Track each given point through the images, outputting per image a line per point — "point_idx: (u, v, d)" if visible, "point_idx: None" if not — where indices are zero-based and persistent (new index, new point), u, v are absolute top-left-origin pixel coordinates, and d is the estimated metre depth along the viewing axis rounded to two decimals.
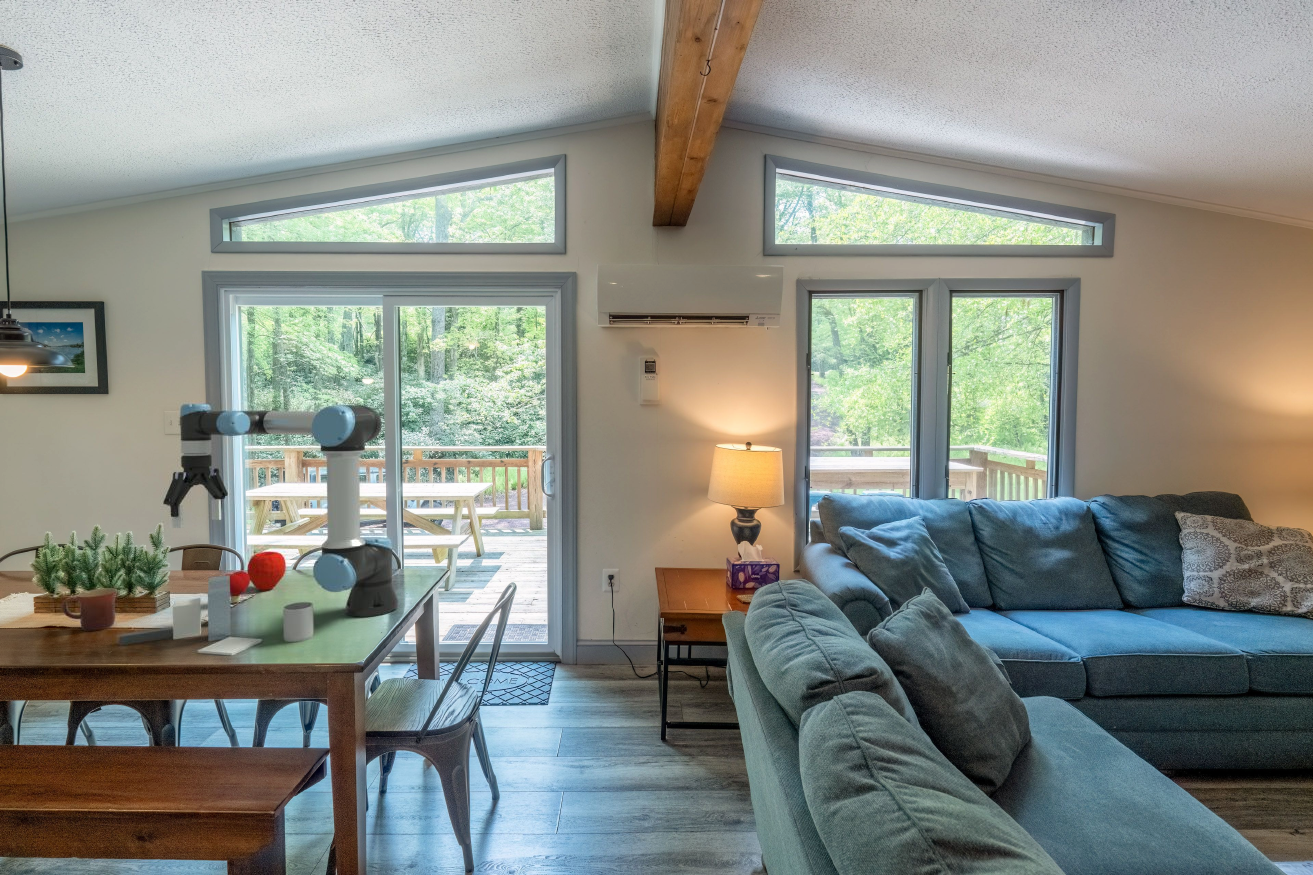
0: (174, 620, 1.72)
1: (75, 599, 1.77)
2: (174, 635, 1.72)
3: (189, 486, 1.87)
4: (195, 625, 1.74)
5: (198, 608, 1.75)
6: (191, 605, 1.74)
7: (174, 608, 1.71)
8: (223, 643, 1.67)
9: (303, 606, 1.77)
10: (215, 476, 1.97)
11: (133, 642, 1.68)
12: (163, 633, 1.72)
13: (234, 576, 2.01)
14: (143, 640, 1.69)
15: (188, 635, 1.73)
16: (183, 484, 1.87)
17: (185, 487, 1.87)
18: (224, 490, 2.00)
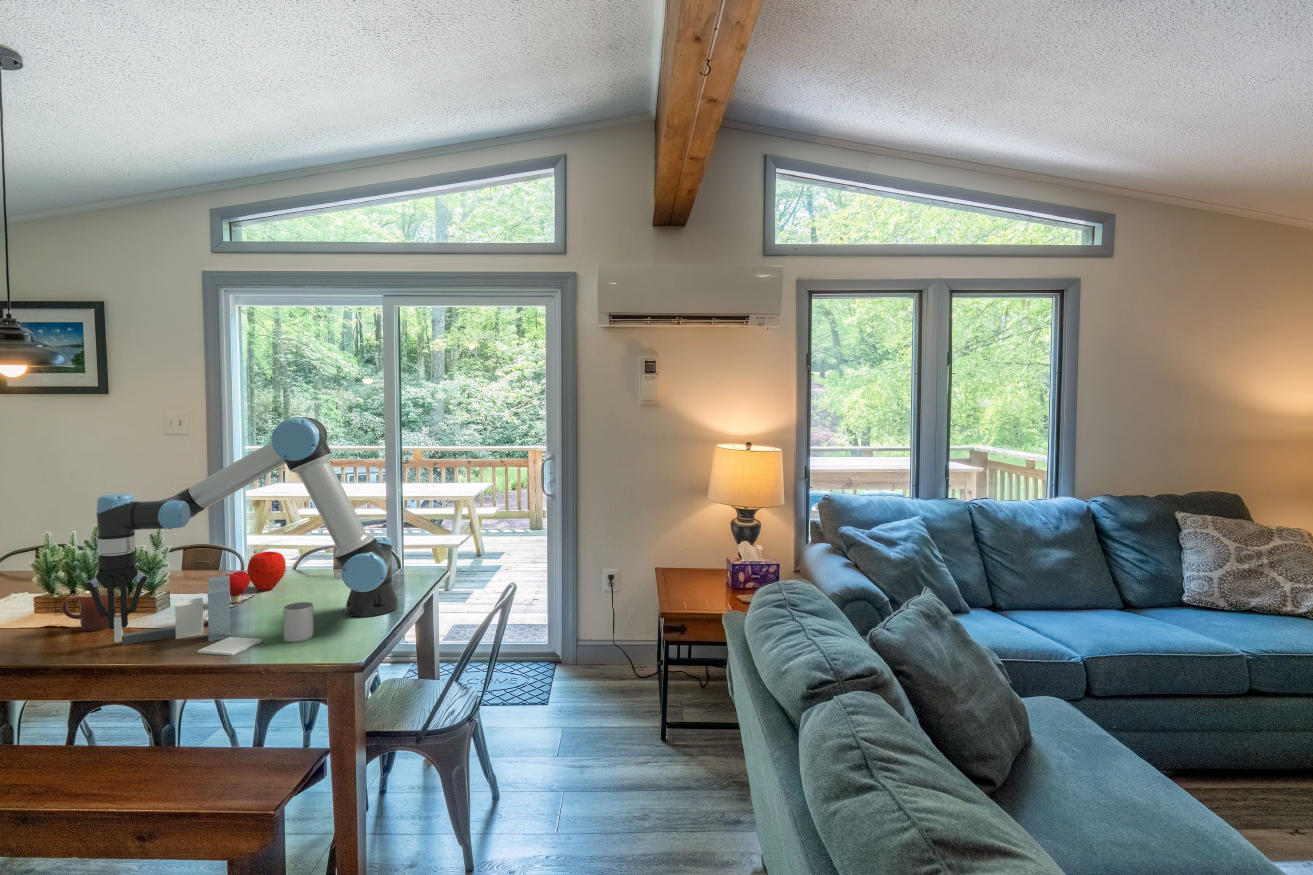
0: (176, 620, 1.72)
1: (75, 599, 1.77)
2: (176, 635, 1.72)
3: (110, 593, 1.65)
4: (198, 624, 1.75)
5: (200, 608, 1.75)
6: (193, 605, 1.74)
7: (176, 608, 1.72)
8: (223, 643, 1.67)
9: (303, 606, 1.77)
10: None
11: (135, 641, 1.68)
12: (166, 633, 1.72)
13: (234, 576, 2.01)
14: (146, 640, 1.70)
15: (190, 635, 1.74)
16: None
17: (108, 595, 1.65)
18: (133, 604, 1.68)
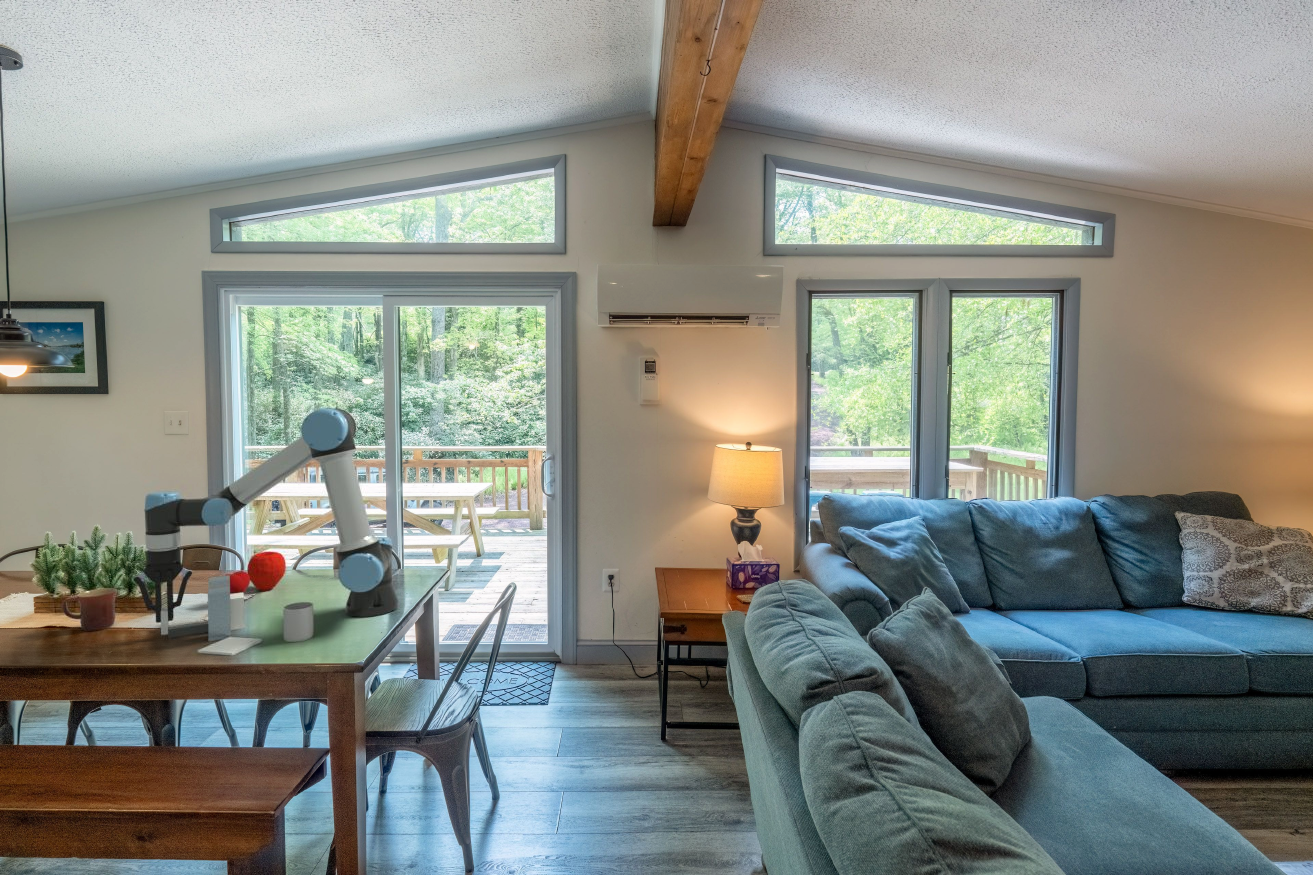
0: None
1: (75, 599, 1.77)
2: None
3: (157, 587, 1.70)
4: (240, 618, 1.80)
5: (242, 602, 1.80)
6: (236, 599, 1.79)
7: None
8: (223, 643, 1.67)
9: (303, 606, 1.77)
10: (183, 578, 1.74)
11: (180, 635, 1.74)
12: None
13: (234, 576, 2.01)
14: (190, 633, 1.75)
15: (233, 628, 1.79)
16: None
17: (155, 589, 1.71)
18: (179, 598, 1.73)
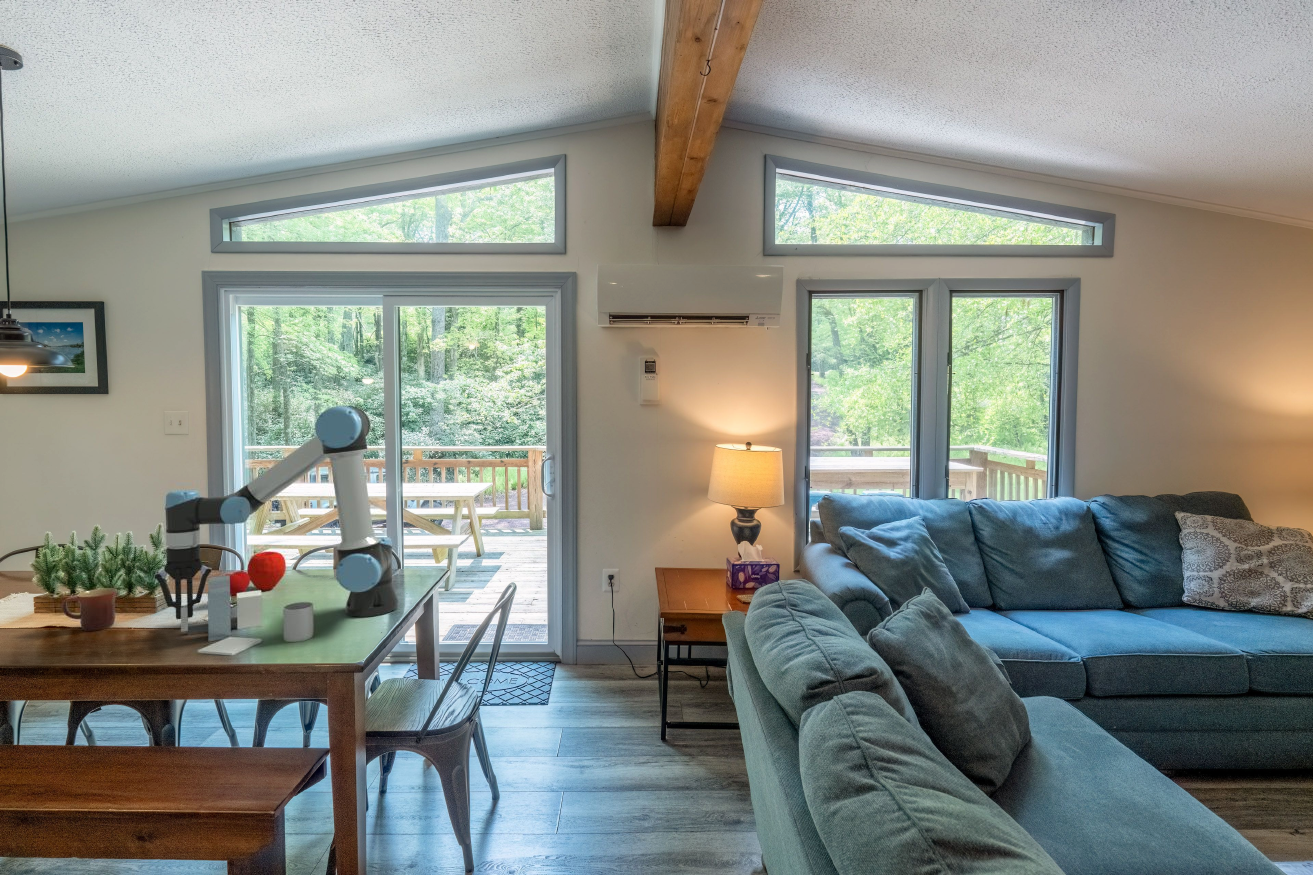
0: (238, 611, 1.80)
1: (75, 599, 1.77)
2: (238, 625, 1.80)
3: (177, 584, 1.73)
4: (257, 615, 1.83)
5: (260, 599, 1.83)
6: (254, 597, 1.82)
7: (238, 599, 1.80)
8: (223, 643, 1.67)
9: (303, 606, 1.77)
10: (202, 575, 1.76)
11: (200, 631, 1.76)
12: None
13: (234, 576, 2.01)
14: None
15: (251, 625, 1.82)
16: None
17: (175, 586, 1.73)
18: (198, 595, 1.76)
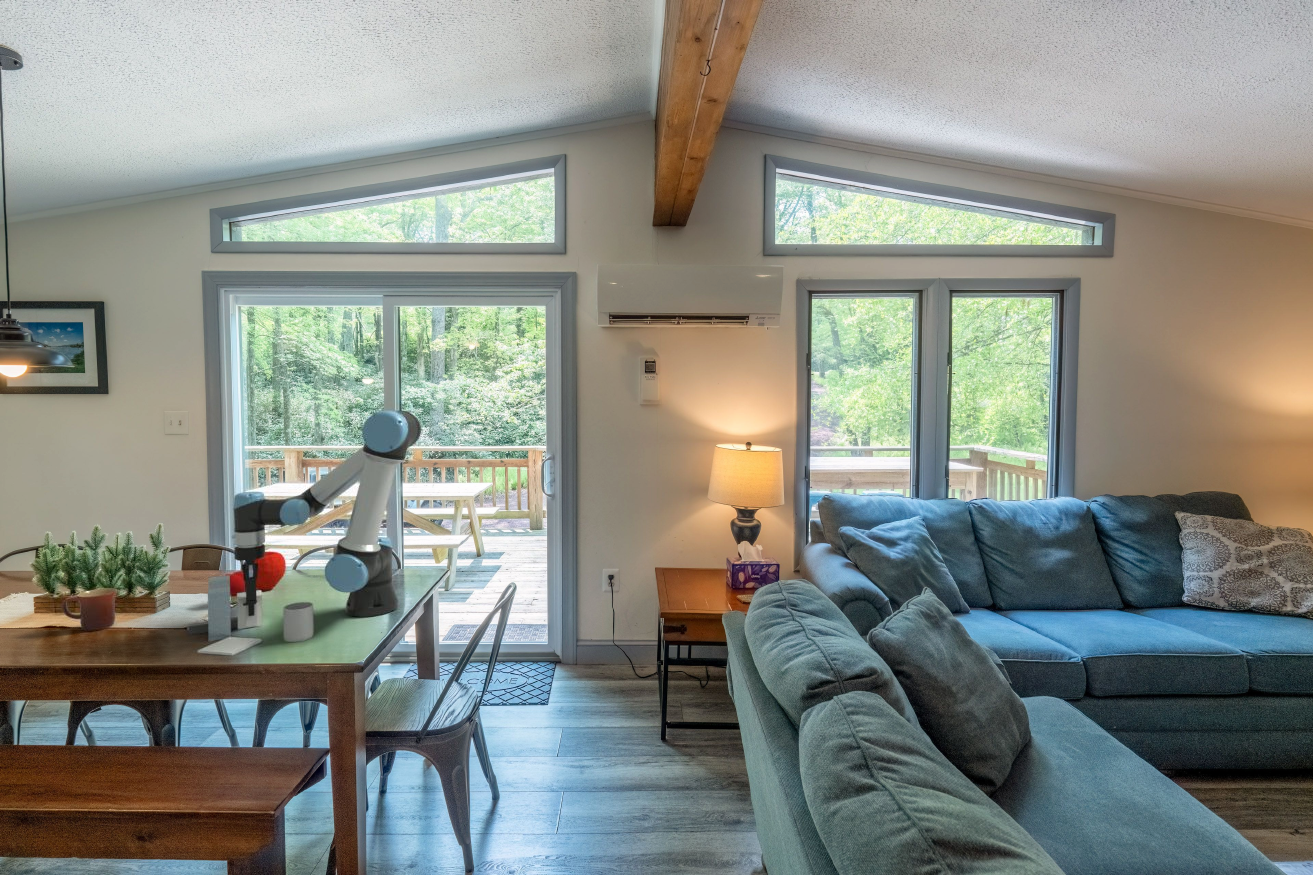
0: (239, 611, 1.80)
1: (75, 599, 1.77)
2: (239, 625, 1.80)
3: (255, 580, 1.82)
4: (258, 615, 1.83)
5: (260, 599, 1.83)
6: None
7: (239, 599, 1.80)
8: (223, 643, 1.67)
9: (303, 606, 1.77)
10: None
11: (200, 631, 1.76)
12: None
13: (234, 576, 2.01)
14: None
15: None
16: None
17: None
18: None
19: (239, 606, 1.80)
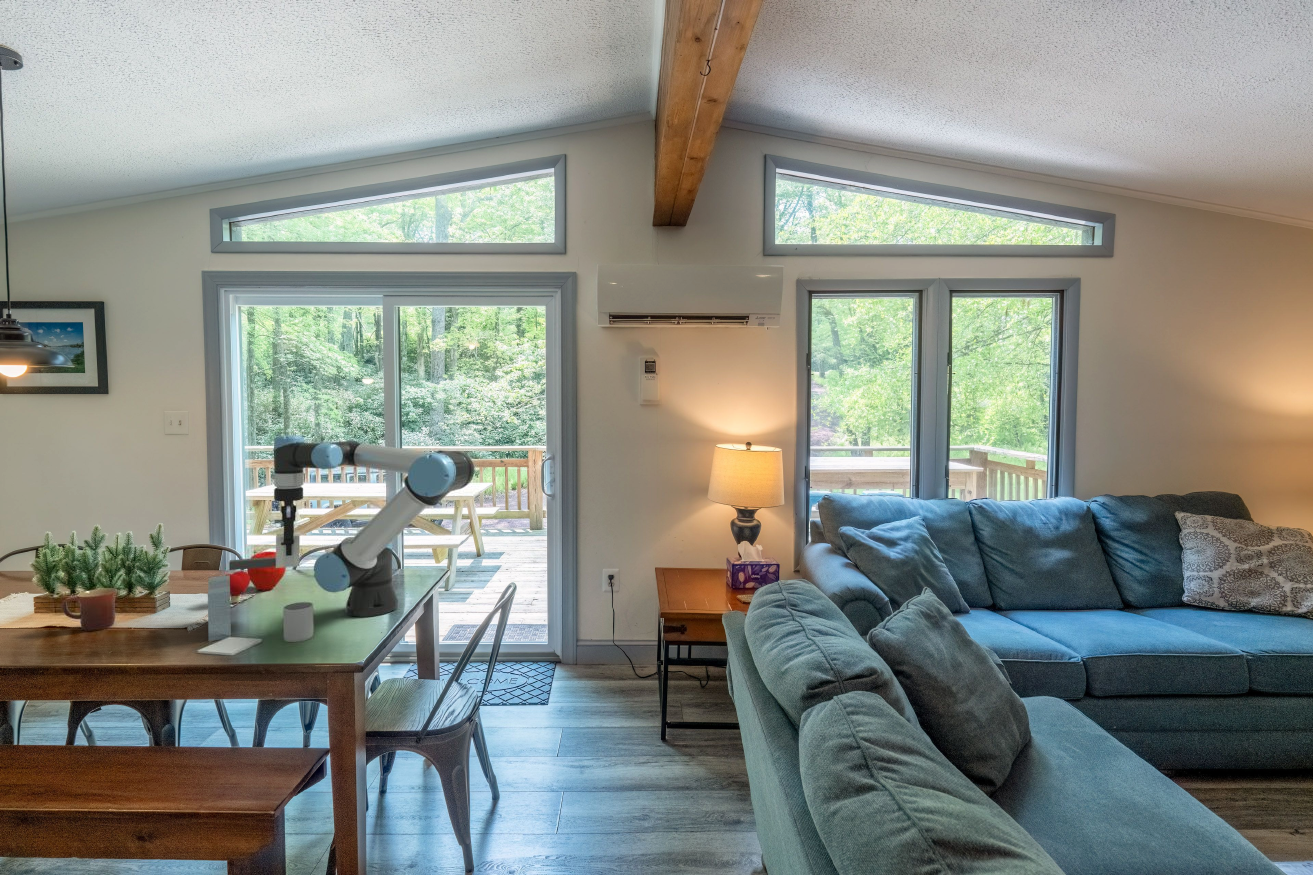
0: (277, 550, 1.84)
1: (75, 599, 1.77)
2: (276, 564, 1.84)
3: (293, 521, 1.86)
4: (295, 556, 1.87)
5: (298, 540, 1.87)
6: None
7: (277, 539, 1.84)
8: (223, 643, 1.67)
9: (303, 606, 1.77)
10: None
11: (241, 568, 1.82)
12: (267, 562, 1.85)
13: (234, 576, 2.01)
14: (250, 567, 1.83)
15: None
16: None
17: None
18: None
19: (277, 545, 1.84)
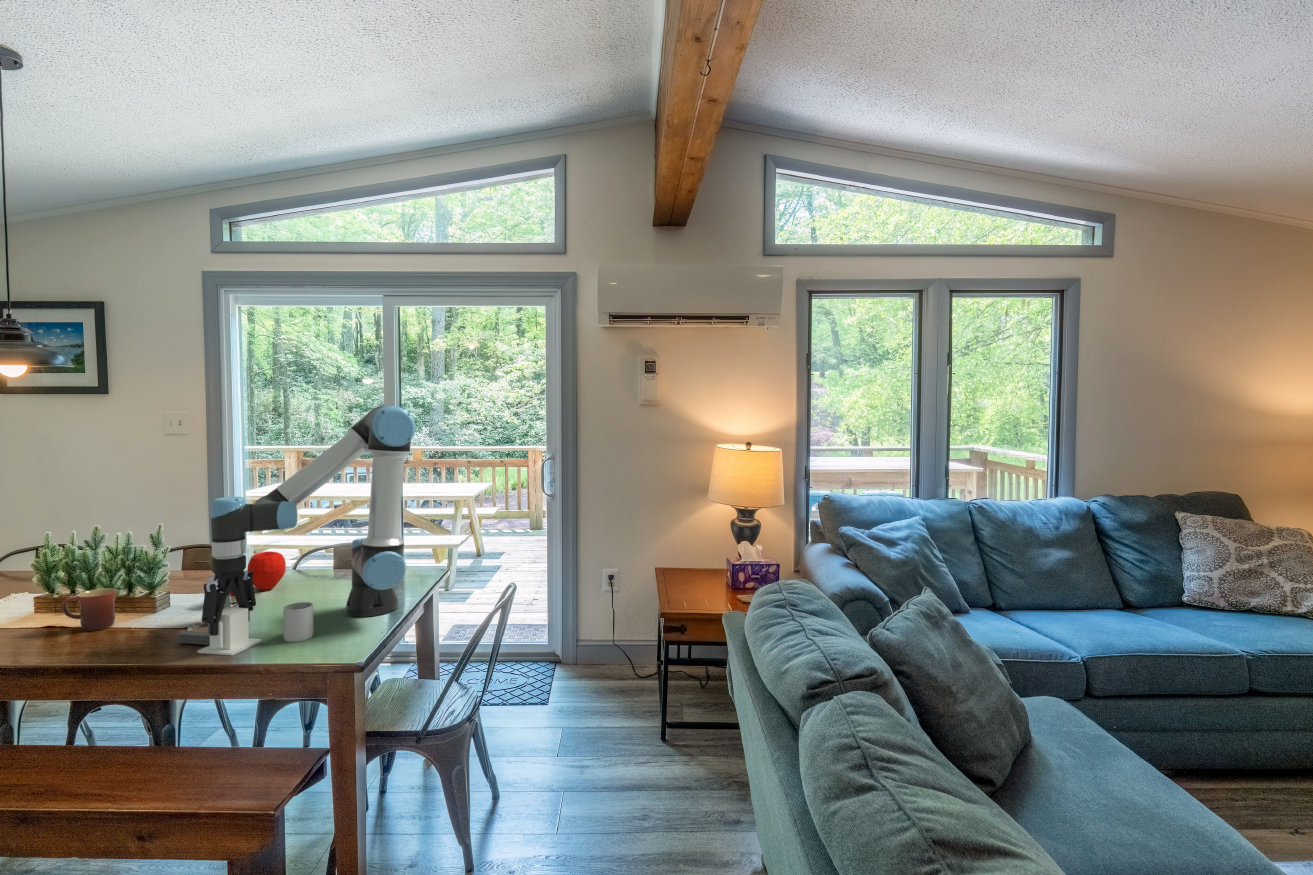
0: None
1: (75, 599, 1.77)
2: (210, 644, 1.64)
3: (225, 596, 1.63)
4: (226, 637, 1.63)
5: (228, 620, 1.63)
6: (223, 616, 1.63)
7: None
8: None
9: (303, 606, 1.77)
10: (248, 580, 1.71)
11: (187, 642, 1.67)
12: (208, 639, 1.66)
13: None
14: (194, 642, 1.67)
15: (221, 647, 1.64)
16: (217, 594, 1.63)
17: (221, 598, 1.62)
18: (253, 598, 1.72)
19: None
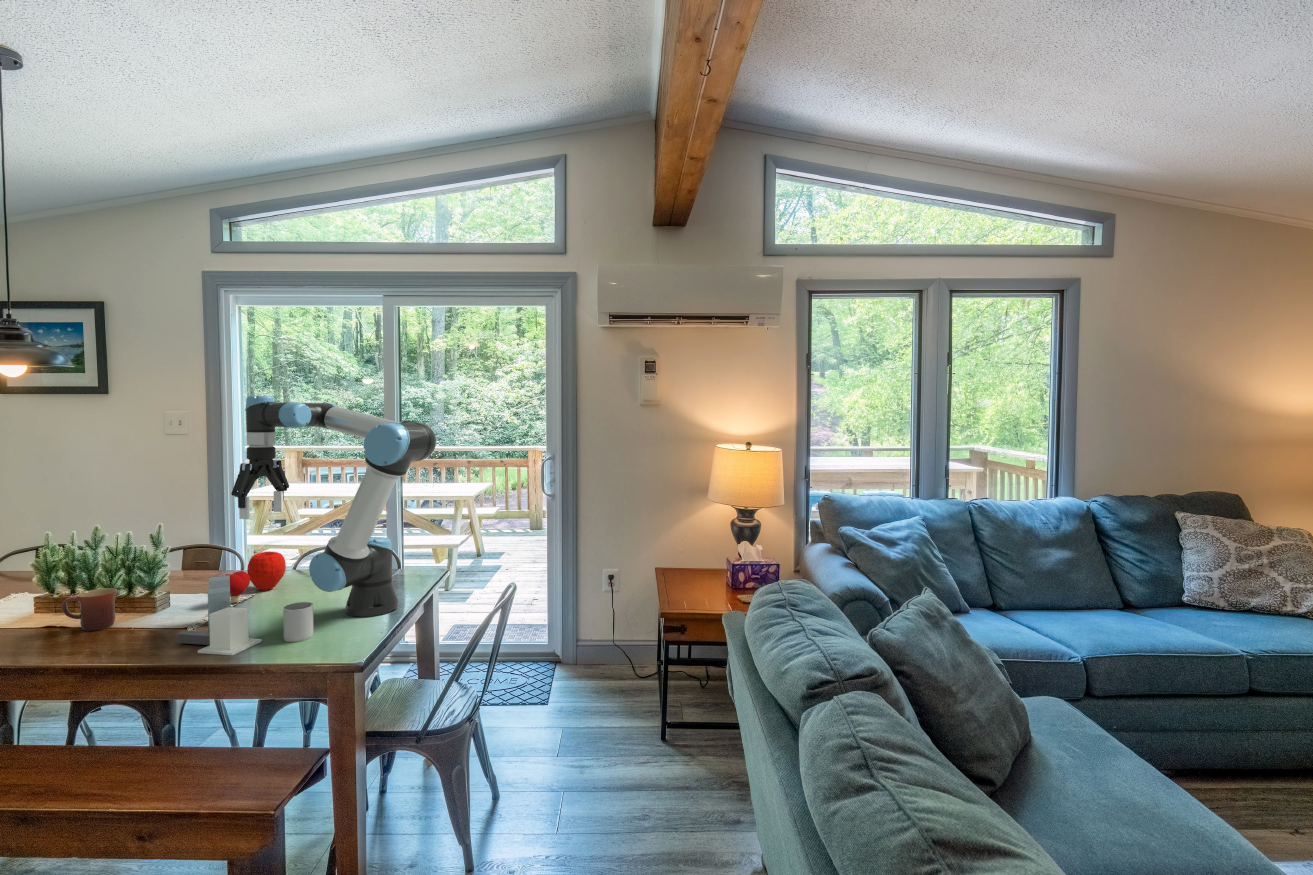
0: (210, 628, 1.64)
1: (75, 599, 1.77)
2: (210, 644, 1.64)
3: (255, 478, 1.88)
4: (226, 637, 1.63)
5: (228, 620, 1.63)
6: (223, 616, 1.63)
7: (210, 616, 1.64)
8: None
9: (303, 606, 1.77)
10: (278, 468, 1.97)
11: (187, 642, 1.67)
12: (208, 639, 1.66)
13: (234, 576, 2.01)
14: (194, 642, 1.67)
15: (221, 647, 1.64)
16: (249, 476, 1.88)
17: (251, 478, 1.87)
18: (285, 482, 2.00)
19: (211, 623, 1.64)
